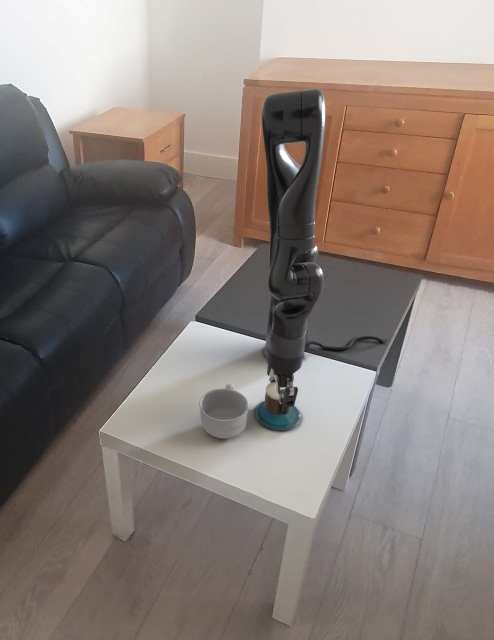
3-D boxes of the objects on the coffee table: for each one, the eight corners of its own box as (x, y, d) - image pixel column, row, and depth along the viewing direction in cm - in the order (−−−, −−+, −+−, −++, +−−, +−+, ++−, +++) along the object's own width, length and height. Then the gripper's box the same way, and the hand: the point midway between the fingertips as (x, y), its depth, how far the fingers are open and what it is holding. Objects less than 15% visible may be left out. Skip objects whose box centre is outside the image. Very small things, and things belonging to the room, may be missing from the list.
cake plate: (291, 399, 144) (291, 396, 143) (305, 428, 136) (306, 426, 135) (250, 403, 144) (251, 400, 143) (262, 432, 136) (263, 430, 135)
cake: (286, 396, 140) (288, 380, 138) (294, 413, 135) (297, 397, 133) (261, 398, 140) (263, 382, 138) (268, 416, 135) (270, 399, 133)
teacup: (235, 451, 132) (238, 426, 127) (191, 435, 137) (191, 410, 132) (256, 413, 141) (260, 387, 136) (214, 399, 146) (215, 374, 141)
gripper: (315, 365, 122) (304, 424, 132) (292, 326, 134) (284, 383, 144) (279, 368, 122) (270, 427, 132) (259, 329, 134) (253, 385, 144)
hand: (277, 404), depth 138 cm, fingers closed on cake, 6 cm apart
